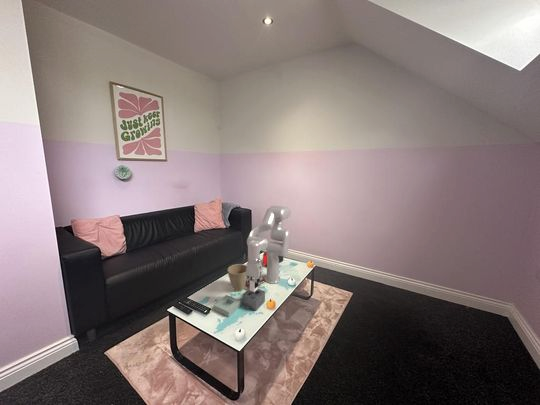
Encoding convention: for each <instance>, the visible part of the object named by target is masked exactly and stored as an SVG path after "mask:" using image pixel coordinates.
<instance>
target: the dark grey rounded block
mask: <svg viewBox="0 0 540 405" xmlns="http://www.w3.org/2000/svg"><path fill="white" fill-rule="evenodd" d="M265 302H266V291H265V290H262V289H259V288H258V289H257V290H256V291H255V292H252V291H250V287H249V288H248V289H246V290H245V292H243V293H242V294H241V306H243V307H245V308H248V309H250V310H251V311H252V310H253V311H255V312H257V311H258V310H259V308H261V307H262V305H263V304H264V303H265Z"/></svg>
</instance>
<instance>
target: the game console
mask: <svg viewBox="0 0 540 405" xmlns="http://www.w3.org/2000/svg"><path fill="white" fill-rule="evenodd" d="M278 258H279V264H280V263H282V262H284V256H279V255H278ZM262 264H263V266H264V267H266V268H267V252H266V251H265V252H263V254H262Z"/></svg>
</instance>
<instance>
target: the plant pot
mask: <svg viewBox="0 0 540 405" xmlns="http://www.w3.org/2000/svg"><path fill="white" fill-rule="evenodd" d="M246 266H247V264H246V265H245V264H243V263H238V264H237V263H236V264H232V265H230V266H228V268H227V274H228V278H229V281H230V284H231V287H232V289H233V290H234V292H242V291H243V290H244V288H245V286H246V283H247V280H248V277H247V276H246V275H245V273H246Z"/></svg>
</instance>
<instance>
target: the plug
mask: <svg viewBox="0 0 540 405" xmlns="http://www.w3.org/2000/svg"><path fill="white" fill-rule="evenodd" d="M249 288H250V291H252V292H255V291H256V290H257V289H259V286H258V287H257V288H255V278H253V277H252V280H250V284H249Z"/></svg>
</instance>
